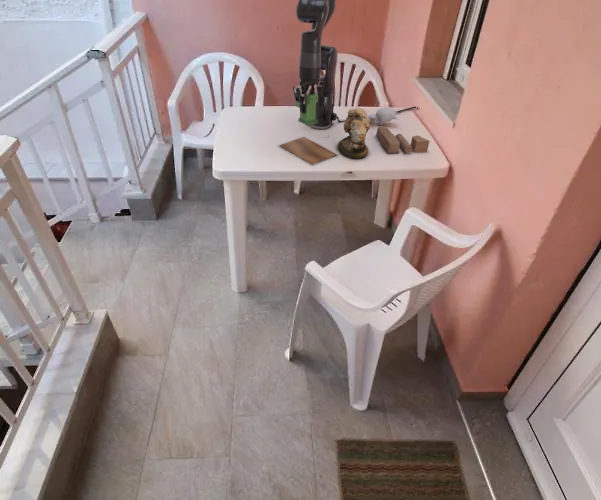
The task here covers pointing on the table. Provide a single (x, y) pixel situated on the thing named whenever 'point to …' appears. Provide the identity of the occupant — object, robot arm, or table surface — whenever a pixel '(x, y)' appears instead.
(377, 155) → the table surface
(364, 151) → the tan lumpy upright piece
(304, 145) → the wooden board
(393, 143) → the wooden block set
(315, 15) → the robot arm
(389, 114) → the toy creature
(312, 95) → the toy dinosaur
